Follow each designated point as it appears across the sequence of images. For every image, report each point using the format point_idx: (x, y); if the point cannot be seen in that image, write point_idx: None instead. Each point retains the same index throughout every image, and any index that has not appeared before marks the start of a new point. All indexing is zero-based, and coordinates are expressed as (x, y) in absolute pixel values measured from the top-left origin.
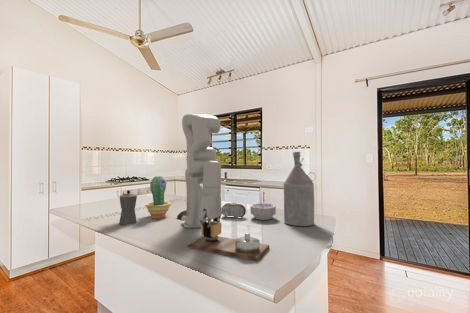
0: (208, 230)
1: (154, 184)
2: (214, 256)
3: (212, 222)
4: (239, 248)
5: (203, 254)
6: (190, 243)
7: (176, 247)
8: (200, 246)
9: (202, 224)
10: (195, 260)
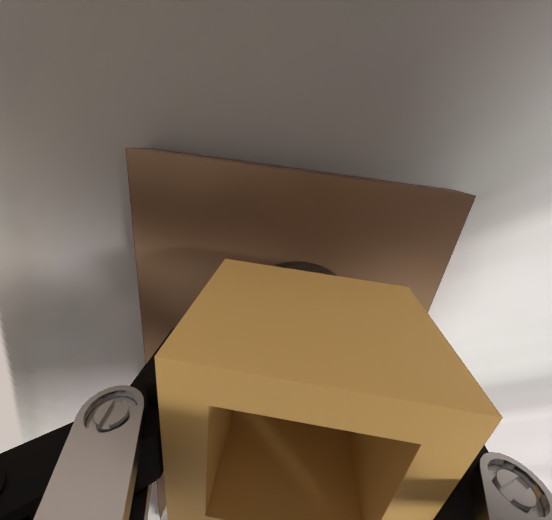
0: None
1: None
2: (119, 374)
3: (398, 467)
4: (163, 511)
5: (106, 315)
6: (135, 168)
7: (82, 19)
8: (140, 279)
9: (6, 458)
10: (16, 307)
